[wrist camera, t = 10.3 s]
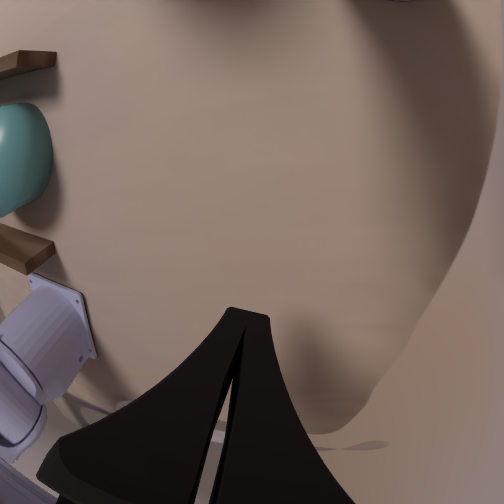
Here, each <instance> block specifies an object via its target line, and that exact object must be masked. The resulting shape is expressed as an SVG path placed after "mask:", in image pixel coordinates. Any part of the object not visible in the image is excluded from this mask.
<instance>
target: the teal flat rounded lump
mask: <svg viewBox="0 0 504 504" xmlns="http://www.w3.org/2000/svg"><path fill="white" fill-rule="evenodd" d="M51 168H52V141H51V135H50V131H49V127H48V124H47V122H46V120H45V117H44V116H43V114H42V112H41V111H40V110H39V109H38V108H37V107H36V106H35V105H33V104H31V103H26V102H25V103H18V104H12V105H6V106H1V107H0V217H3V216H5V215H7V214H9V213H11V212H12V211H14V210H16V209H18V208H20V207H22V206H23V205H25V204H27V203H29V202H31V201H33V200H35V199H37V198H38V197H39V196H40V195H41V194H42V193H43V191H44V190H45V188H46V186H47V184H48V181H49V178H50V174H51Z"/></svg>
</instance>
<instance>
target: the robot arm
mask: <svg viewBox="0 0 504 504" xmlns="http://www.w3.org/2000/svg"><path fill="white" fill-rule="evenodd" d="M27 277H28V281H29V284H30V288H31V291H32V293H31V294H30V295H29V296H28V297H27V298H26V299H25V300H24V301H23V302H22V303H21V304H19V305H18V306H17V307H16V308H15V309H14V310H13V311H12V312H11V313H10V314H9V315H8V316H7V317H6V318H5V319H4V320H3V322H2V323H1V324H0V504H194V502H195V498H196V495H197V490H198V487H199V483H200V479H201V475H202V471H203V467H204V464H205V460H206V456H207V452H208V448H209V445H210V441H211V438H212V435H213V431H214V428H215V426H216V423H217V420H218V418H219V415H220V412H221V409H222V407H223V404H224V401H225V398H226V396H227V393H228V390H229V387H230V384H231V382H232V388H231V396H230V403H229V411H228V418H227V426H226V433H225V439H224V445H223V448H222V452H221V457H220V461H219V465H218V469H217V473H216V477H215V481H214V485H213V489H212V493H211V497H210V500H209V504H355V503H354V502H353V500H352V499H351V498H350V497H349V496H348V495H347V493H346V492H345V491H344V490H343V488H342V487H341V486H340V485H339V483H338V482H337V481H336V479H335V478H334V477H333V475H332V474H331V472H330V471H329V469H328V468H327V467H326V465H325V464H324V462H323V460H322V459H321V458H320V456H319V454H318V452H317V451H316V449H315V447H314V446H313V444H312V442H311V441H310V439H309V437H308V435H307V433H306V431H305V430H304V428H303V426H302V424H301V422H300V420H299V417H298V415H297V413H296V411H295V409H294V406H293V404H292V402H291V399H290V397H289V394H288V391H287V389H286V386H285V383H284V380H283V377H282V374H281V371H280V367H279V364H278V360H277V357H276V353H275V349H274V344H273V339H272V334H271V327H270V318H269V317H268V315H264V314H260V313H255V312H251V311H247V310H243V309H238V308H234V307H229V308H227V309H226V311H225V313H224V315H223V316H222V318H221V319H220V321H219V322H218V323H217V325H216V326H215V327H214V329H213V330H212V331H211V332H210V334H209V335H208V336H207V337H206V338H205V339H204V340H203V342H202V343H201V344H200V345H199V346H198V347H197V348H196V349H195V350H194V351H193V352H192V353H191V354H190V355H189V356H188V357H187V358H186V359H185V360H184V361H183V362H182V363H181V364H180V365H179V366H178V367H177V368H176V369H175V370H174V371H172V372H171V373H170V374H169V375H168V376H167V377H165V378H164V379H163V380H162V381H160V382H159V383H158V384H157V385H155V386H154V387H153V388H151V389H150V390H148V391H147V392H146V393H144V394H143V395H141V396H140V397H139V398H137V399H136V400H134V401H132V402H131V403H129V404H128V405H126V406H124V407H123V408H121V409H120V410H117V411H116V412H114V413H112V414H110V415H108V416H107V417H105V418H103V419H101V420H99V421H97V422H95V423H93V424H91V425H89V426H86V427H84V428H82V429H79V430H77V431H75V432H72V433H70V434H67V435H65V436H62V437H60V438H59V439H58V440H57V442H56V443H55V444H54V445H53V447H52V448H51V449H50V451H49V452H48V453H47V455H46V457H45V459H44V461H43V463H42V464H41V466H40V468H39V470H38V472H37V474H36V476H37V479H38V480H39V481H41V482H42V483H44V484H45V485H46V486H48V487H49V488H51V489H52V490H54V491H56V492H57V493H59V494H60V495H59V497H58V498H56V497H54V496H53V495H51V494H50V493H48V492H47V491H45V490H44V489H42V488H40V487H39V486H38V485H36V484H35V483H33V482H32V481H31V480H29V479H28V478H27V477H25V476H24V475H23V474H21V473H20V472H19V471H17V470H16V469H15V468H13V467H12V466H11V465H10V464H9V463H14V462H15V460H17V459H18V458H19V457H20V455H21V454H22V453H23V452H24V451H25V450H26V449H27V448H29V447H31V446H32V445H33V444H34V443H35V442H36V441H37V440H38V439H39V437H40V436H41V434H42V432H43V430H44V428H45V425H46V422H47V407H46V405H45V403H44V401H51V400H54V399H57V398H59V397H60V396H62V395H63V394H64V393H65V392H66V391H67V389H68V388H69V386H70V384H71V383H72V381H73V380H74V378H75V377H76V375H77V374H78V372H79V371H80V369H81V368H82V366H83V365H84V363H85V362H86V361H87V359H88V358H89V357H90V358H92V359H96V358H97V354H96V351H95V347H94V343H93V340H92V336H91V332H90V328H89V324H88V320H87V315H86V311H85V306H84V301H83V297H82V295H81V293H79V292H77V291H75V290H72V289H70V288H67V287H65V286H62V285H60V284H58V283H55V282H53V281H50V280H48V279H46V278H43V277H41V276H39V275H37V274H34V273H32V272H31V273H30V274H29V275H28V276H27ZM232 379H233V381H232Z"/></svg>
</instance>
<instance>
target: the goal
mask: <svg viewBox="0 0 504 504" xmlns="http://www.w3.org/2000/svg"><path fill="white" fill-rule="evenodd" d="M55 57H56V52H49V51H27V50H19V51H16V52H13V53H11V54H8V55H6V56H3V57H1V58H0V80H2V79H5V78H8V77H12V76H15V75H19V74H23V73H26V72H30V71H35V70H39V69H43V68H48V67H53V66H54V63H55ZM54 254H55V250H54V243H53V241H50V240H47V239H44V238H41V237H38V236H35V235H32V234H29V233H26V232H23V231H20V230H18V229H15V228H12V227H9V226H6V225H4V224H1V223H0V263H2V264H4V265H6V266H8V267H10V268H12V269H14V270H16V271H18V272H21V273H23V274H25V275H27V276H28V275H29V274H30V273H31V272H33V271H34V270H35V269H36V268H37V267H39V266H40V265H41V264H42V263H44V262H45V261H46V260H47V259H49V258H50V257H51V256H52V255H54Z"/></svg>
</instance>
